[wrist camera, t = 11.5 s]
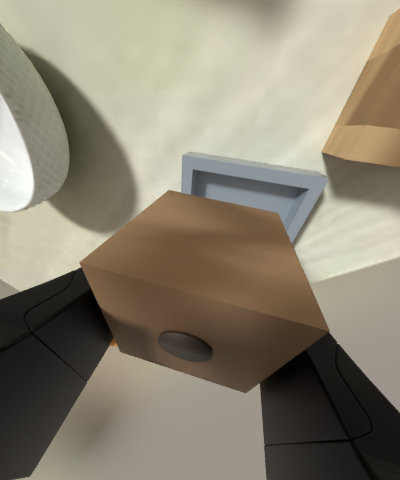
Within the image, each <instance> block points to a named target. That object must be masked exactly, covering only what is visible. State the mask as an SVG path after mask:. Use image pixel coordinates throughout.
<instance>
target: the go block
mask: <svg viewBox="0 0 400 480" xmlns="http://www.w3.org/2000/svg"><path fill="white" fill-rule="evenodd" d="M322 152H323V153H326V154H329V155H333V156H336V157H339V158H342V159H346V160H352V161H359V162H366V163H373V164H380V165H387V166H394V167H400V9H398V10H397V11H396V12H395V13H393V14H392V15H391V16H390V17H389V19H388V21H387V23H386V25H385V27H384V29H383V31H382V33H381V35H380V37H379V39H378V41H377V43H376V45H375V47H374V49H373V51H372V53H371V55H370V57H369V59H368V61H367V63H366V65H365V67H364V69H363V71H362V73H361V75H360V77H359V79H358V81H357V83H356V85H355V87H354V89H353V91H352V93H351V95H350V97H349V99H348V101H347V103H346V105H345V107H344V109H343V111H342V113H341V115H340V117H339V119H338V121H337V123H336V125H335V127H334V129H333V131H332V133H331V135H330V137H329V139H328V141H327V143H326V145H325V147H324V149H323V151H322Z"/></svg>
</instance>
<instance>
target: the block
mask: <svg viewBox="0 0 400 480" xmlns="http://www.w3.org/2000/svg"><path fill="white" fill-rule="evenodd" d="M80 265H81V267H82V269H83V272H84V274H85V276H86V278H87V280H88V282H89V285H90V287H91V289H92V291H93V293H94V296H95V298H96V300H97V302H98V304H99V306H100V309H101V311H102V313H103V315H104V317H105V319H106V322H107V324H108V326H109V328H110V330H111V332H112V335H113V337H114V339H115V341H116V343H117V345H118V348H119V350H120V352H122V353H125V354H128V355H131V356H134V357H138V358H140V359H143V360H146V361H149V362H152V363H156V364H159V365H162V366H165V367H168V368H171V369H174V370H177V371H180V372H183V373H186V374H189V375H192V376H195V377H198V378H201V379H204V380H207V381H210V382H214V383H216V384H219V385H222V386H225V387H229V388H232V389H234V390H238V391H241V392H244V393H247V392H248V391H249V390H251V389H252V388H253V387H255V386H256V385H258V384H259V383H260V382H262V381H263V380H264V379H266V378H267V377H268V376H270V375H271V374H272V373H274V372H275V371H277V370H278V369H279V368H281V367H282V366H283V365H285V364H286V363H287V362H289V361H290V360H292V359H293V358H294V357H296V356H297V355H298V354H300V353H301V352H302V351H304V350H305V349H306V348H308V347H309V346H311V345H312V344H313V343H315V342H316V341H317V340H319V339H320V338H321V337H323V336H324V335H325V334H327V333H328V332H329V329H328V326H327V324H326V322H325V319H324V317H323V315H322V312H321V310H320V308H319V305H318V303H317V301H316V299H315V296H314V294H313V292H312V289H311V287H310V285H309V282H308V280H307V278H306V275H305V273H304V271H303V269H302V266H301V264H300V262H299V259H298V257H297V255H296V252H295V250H294V248H293V246H292V243H291V241H290V239H289V236H288V234H287V232H286V230H285V227H284V225H283V223H282V220H281V218H280V216H279V213H276V212H271V211H267V210H262V209H257V208H252V207H247V206H243V205H238V204H233V203H228V202H223V201H218V200H214V199H209V198H204V197H199V196H194V195H190V194H185V193H180V192H175V191H170V190H168V191H167V192H166V193H165V194H163V195H162V196H161V197H160V198H159V199H157V200H156V201H155V202H154V203H152V204H151V205H150V206H149V207H147V208H146V209H145V210H144V211H142V212H141V213H140V214H139V215H138V216H136V217H135V218H134V219H133V220H131V221H130V222H129V223H128V224H126V225H125V226H124V227H123V228H121V229H120V230H119V231H118V232H117V233H115V234H114V235H113V236H112V237H110V238H109V239H108V240H107V241H105V242H104V243H103V244H102V245H101V246H99V247H98V248H97V249H96V250H94V251H93V252H92V253H91V254H89V255H88V256H87V257H86V258H84V259H83V260H82V261H81V262H80Z"/></svg>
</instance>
